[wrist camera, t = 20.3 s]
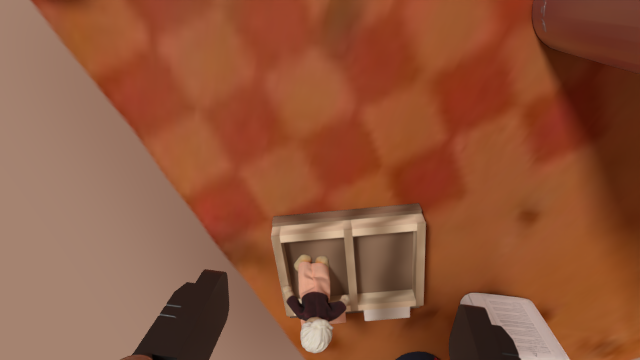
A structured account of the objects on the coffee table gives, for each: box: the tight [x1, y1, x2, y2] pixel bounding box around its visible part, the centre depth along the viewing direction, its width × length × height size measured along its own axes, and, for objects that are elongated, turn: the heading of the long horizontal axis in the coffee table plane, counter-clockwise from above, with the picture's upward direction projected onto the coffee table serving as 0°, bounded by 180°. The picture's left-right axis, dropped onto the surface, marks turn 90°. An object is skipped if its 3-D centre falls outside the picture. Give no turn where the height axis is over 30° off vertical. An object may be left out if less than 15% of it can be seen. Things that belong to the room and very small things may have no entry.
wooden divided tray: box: [271, 203, 426, 325], centre depth 49 cm, size 18×16×4 cm
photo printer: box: [460, 293, 570, 360], centre depth 49 cm, size 10×4×12 cm, turn 82°
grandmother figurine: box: [283, 255, 350, 353], centre depth 43 cm, size 8×4×13 cm, turn 91°
